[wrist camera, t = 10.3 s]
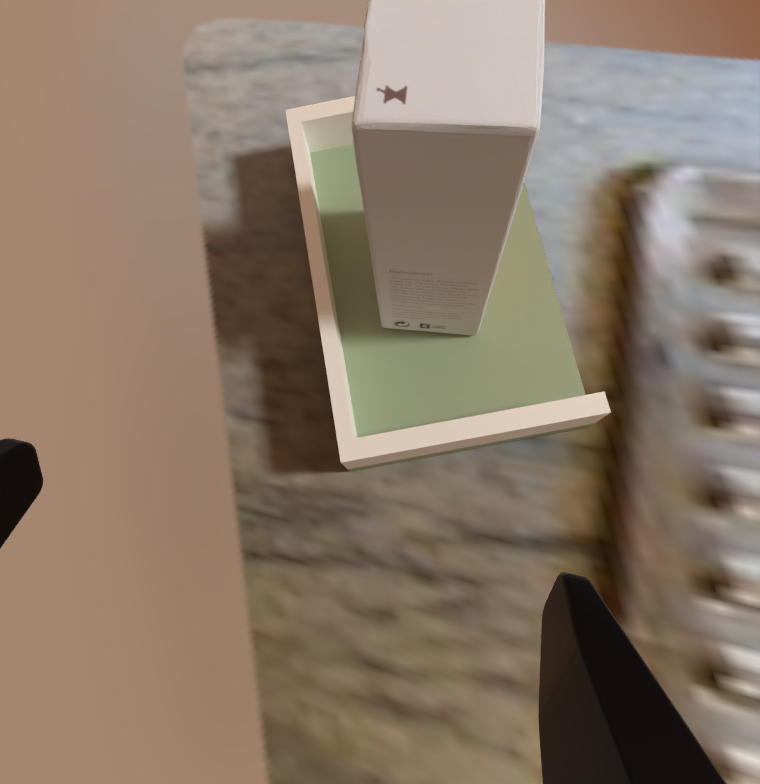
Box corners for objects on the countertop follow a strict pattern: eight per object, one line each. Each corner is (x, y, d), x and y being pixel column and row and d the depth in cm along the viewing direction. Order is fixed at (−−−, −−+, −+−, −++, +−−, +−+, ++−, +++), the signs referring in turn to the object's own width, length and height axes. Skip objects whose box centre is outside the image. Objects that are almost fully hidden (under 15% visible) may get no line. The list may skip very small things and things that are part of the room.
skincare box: (480, 338, 23) (543, 137, 11) (380, 330, 23) (342, 127, 12) (490, 212, 24) (553, -80, 13) (395, 206, 25) (375, -82, 13)
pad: (587, 427, 22) (610, 412, 20) (350, 471, 23) (340, 462, 20) (498, 113, 27) (507, 65, 24) (299, 152, 27) (285, 109, 24)
